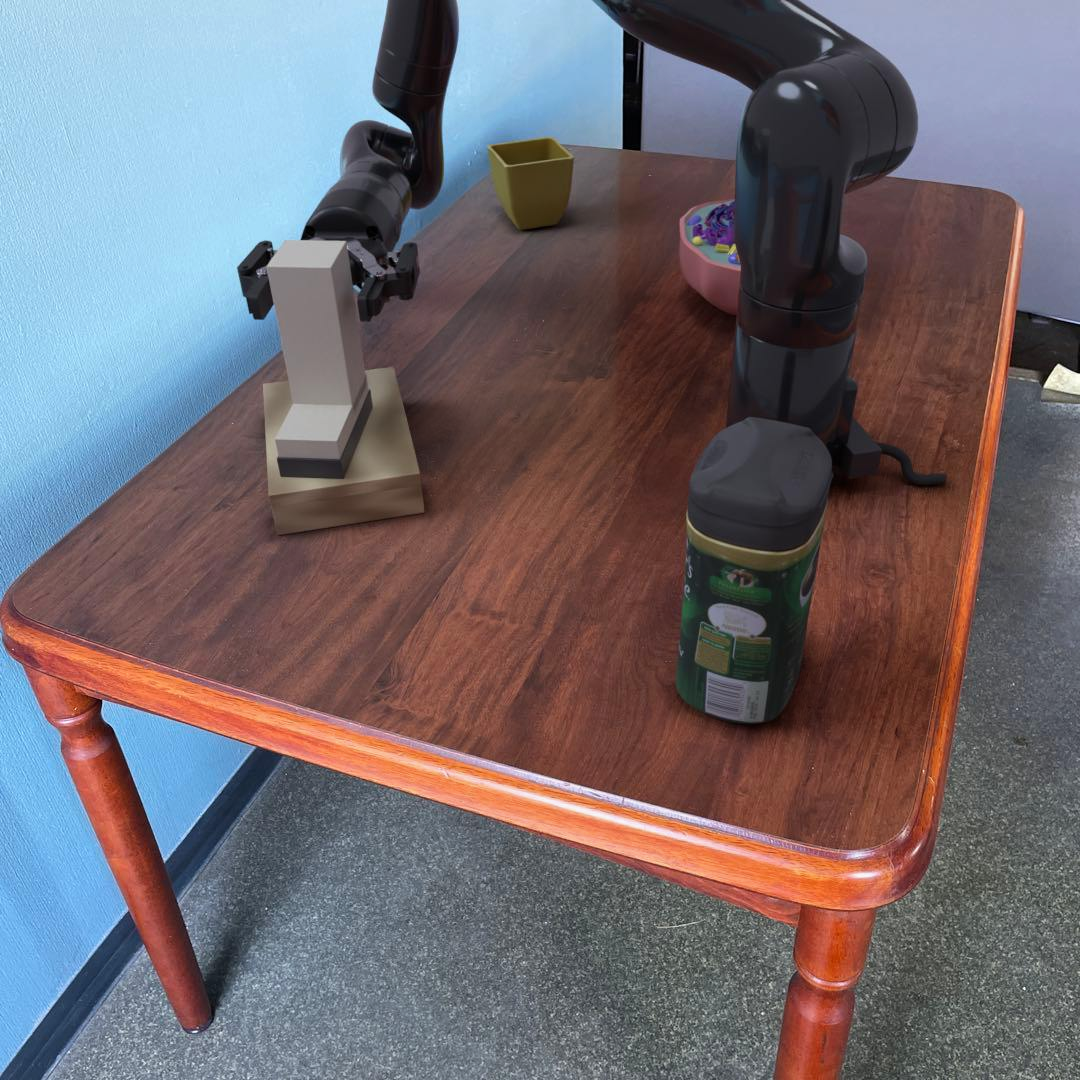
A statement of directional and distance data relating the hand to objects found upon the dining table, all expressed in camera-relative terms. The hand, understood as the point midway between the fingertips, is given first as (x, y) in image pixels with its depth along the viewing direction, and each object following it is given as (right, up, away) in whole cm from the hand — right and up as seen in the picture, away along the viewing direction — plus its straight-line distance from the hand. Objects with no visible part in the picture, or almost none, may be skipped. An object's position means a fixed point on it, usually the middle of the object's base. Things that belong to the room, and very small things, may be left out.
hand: (309, 310), depth 83 cm
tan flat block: (+1, -11, +11) cm, 16 cm away
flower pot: (+17, +22, +53) cm, 60 cm away
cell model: (+41, +8, +34) cm, 54 cm away
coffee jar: (+31, -27, -10) cm, 43 cm away
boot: (0, -9, +7) cm, 12 cm away
